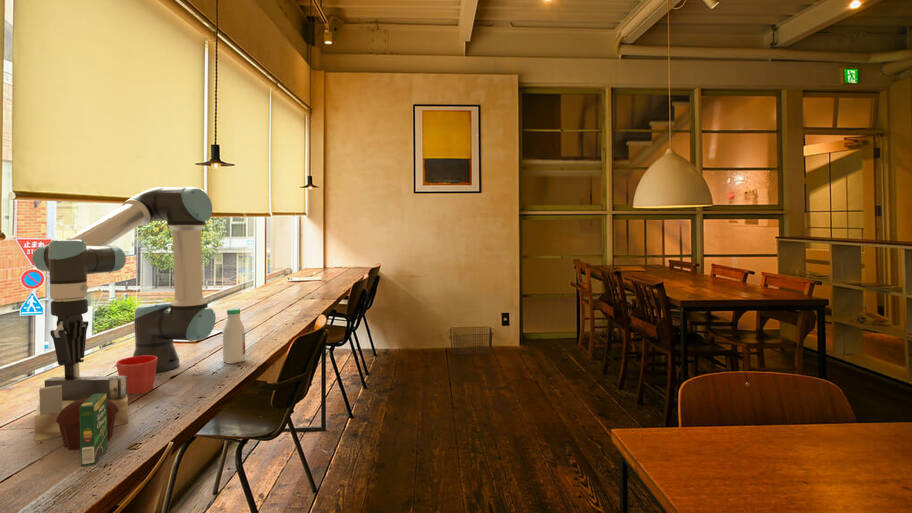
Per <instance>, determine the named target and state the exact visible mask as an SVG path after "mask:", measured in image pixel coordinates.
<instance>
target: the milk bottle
mask: <svg viewBox="0 0 912 513" xmlns="http://www.w3.org/2000/svg"><path fill="white" fill-rule="evenodd" d="M226 315H227V320H226V323H225V324H224V326H223V331H222V362H223V361H224V362H239V363H241V362H240V361H243V360H244V361H246V331H245V326H244V324H243V322H242V320H241V316H240V315H241V309H240V308H228V309H226ZM244 361H243V362H244ZM224 362H223V363H224Z"/></svg>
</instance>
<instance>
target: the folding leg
mask: <svg viewBox="0 0 912 513" xmlns="http://www.w3.org/2000/svg"><path fill="white" fill-rule="evenodd" d="M57 385H62V400H75V399H83V398H88V397H90V396H91V395H92V394H99V393H106V399H120V398H123V397H125V396H126V395H127V396H128V394H127V376H119V375H110V376H109V375H106V376H104V375H101V376H96V375H95V376H80V377H72V378H65V376H52V377H50V378H48V379H46V380H45V379H44V387H50V386H57Z"/></svg>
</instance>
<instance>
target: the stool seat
mask: <svg viewBox="0 0 912 513" xmlns="http://www.w3.org/2000/svg"><path fill="white" fill-rule="evenodd" d="M76 400H80V399H75V400H62V409H63V408H65V407H66V406H68V405H69V404H71V403H73V402H74V401H76ZM109 400H111V401H113V402H114V403H115V404H116V405H117V407H118V408H119V411H118V412H117V413H116V415H115V422H114V427H116V426H119V425H125V424H129V401H128V400H129V399H128V394H127V395H126V396H125V397H123V398H120V399H109ZM60 412H61V411H60ZM60 412H54V413H49V414H43V415H40V398H39V399H38V403H37V406H36V410H35V412H34V434H35V435H34V441H35V442H37V441H43V440H48V439H53V438H58V437H62V436H61V432H60V428H59V424H58V423H57V422H56V419H57V417H58V415H59V413H60Z"/></svg>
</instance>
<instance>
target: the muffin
mask: <svg viewBox="0 0 912 513" xmlns="http://www.w3.org/2000/svg"><path fill="white" fill-rule="evenodd" d="M88 398H89V397H88ZM88 398H83V399H80V400H76V401H74V402H73V403H71V404H69V405H68V406H66V407H65V408H63V409H62V411H61V412H60V413H59V415H58V417H57V419H56V422H57V423H58V424H59V428H60V432H61V436H60V437H61V440H62V443H63V447H64V448H66V449H68V450H69V451H73V450H75V451H76V450H77V451H78V450H80V451H81V448H80V406H81V405H82V404H83V403H84V402H85V401H86V400H87V399H88ZM106 405H107V435H108V436H107V438H108V442H110V440H111V439H112V437H113V432H114V428H115V426H114V422H115V415H116V413H117V412H118V411H119V408H118V407H117V405H116V404H115V403H114V402H113V401H111V400H109V399H106Z"/></svg>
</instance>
